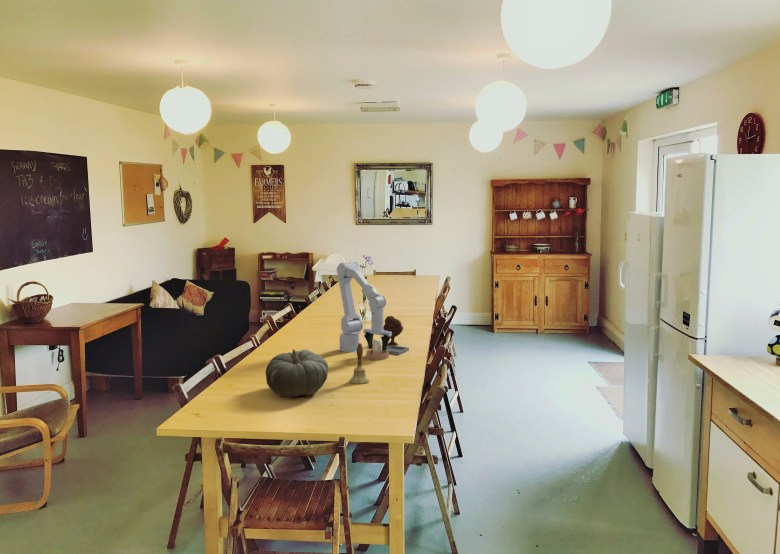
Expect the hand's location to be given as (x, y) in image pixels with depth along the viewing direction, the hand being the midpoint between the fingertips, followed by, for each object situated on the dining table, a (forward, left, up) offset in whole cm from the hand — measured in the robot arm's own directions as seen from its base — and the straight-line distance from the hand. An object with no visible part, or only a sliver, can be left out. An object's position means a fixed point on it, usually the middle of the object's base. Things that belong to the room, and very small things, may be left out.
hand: (377, 349), depth 290 cm
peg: (0, 0, -4) cm, 4 cm away
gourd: (0, -59, -4) cm, 59 cm away
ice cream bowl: (-7, +26, -4) cm, 27 cm away
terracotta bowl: (0, 0, -4) cm, 4 cm away
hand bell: (+13, -35, -4) cm, 38 cm away
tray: (+2, +13, -4) cm, 14 cm away
